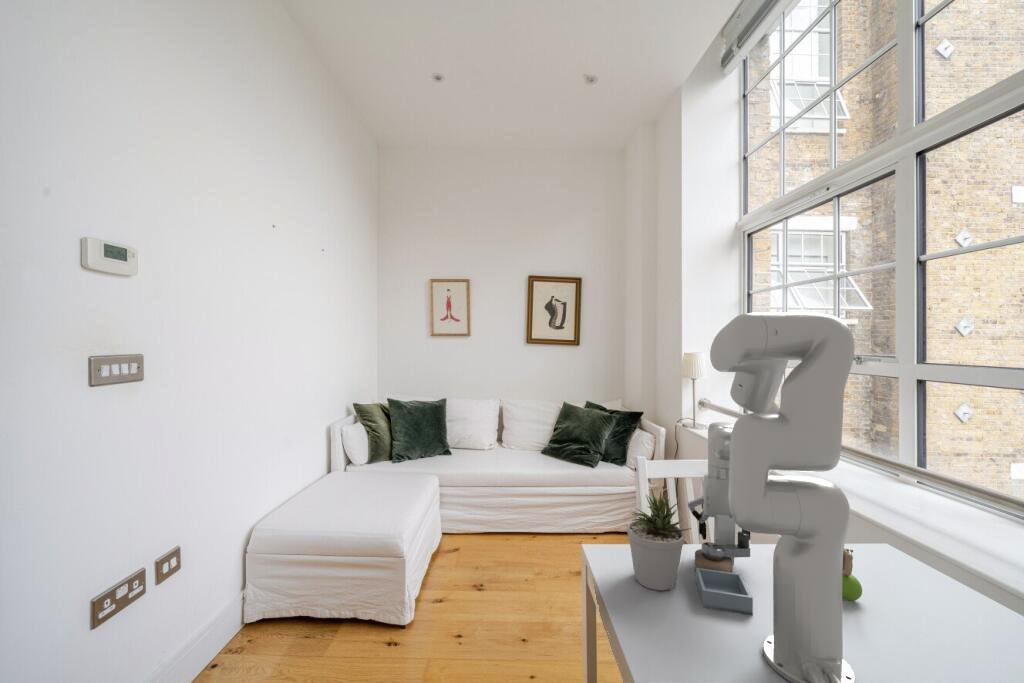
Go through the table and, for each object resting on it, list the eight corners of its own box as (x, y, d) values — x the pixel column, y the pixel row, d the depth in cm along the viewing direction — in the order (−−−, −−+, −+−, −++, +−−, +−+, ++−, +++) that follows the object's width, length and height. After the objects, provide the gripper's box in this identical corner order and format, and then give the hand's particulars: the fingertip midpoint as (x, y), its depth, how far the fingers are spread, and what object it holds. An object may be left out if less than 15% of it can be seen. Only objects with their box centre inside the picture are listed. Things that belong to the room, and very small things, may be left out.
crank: (708, 561, 96) (708, 539, 96) (697, 550, 101) (697, 530, 101) (755, 559, 96) (755, 538, 97) (741, 549, 101) (741, 529, 102)
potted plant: (699, 597, 89) (699, 504, 89) (635, 596, 89) (635, 503, 89) (677, 566, 101) (677, 484, 102) (620, 565, 102) (621, 483, 102)
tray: (752, 615, 83) (752, 597, 83) (702, 607, 85) (702, 590, 85) (740, 589, 92) (740, 573, 92) (695, 583, 94) (695, 567, 94)
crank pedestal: (736, 585, 93) (736, 568, 93) (697, 580, 95) (697, 562, 96) (727, 566, 102) (727, 550, 102) (692, 561, 104) (692, 545, 104)
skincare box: (712, 552, 109) (712, 506, 109) (732, 555, 107) (732, 508, 107) (715, 564, 103) (715, 515, 103) (736, 567, 101) (735, 517, 101)
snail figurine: (833, 604, 87) (833, 546, 87) (827, 588, 93) (827, 534, 93) (867, 612, 84) (866, 552, 85) (858, 595, 90) (858, 540, 90)
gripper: (757, 470, 107) (757, 537, 106) (685, 465, 111) (685, 529, 111) (767, 479, 99) (767, 551, 99) (689, 473, 104) (689, 541, 104)
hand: (724, 539), depth 105 cm, fingers open, 9 cm apart
